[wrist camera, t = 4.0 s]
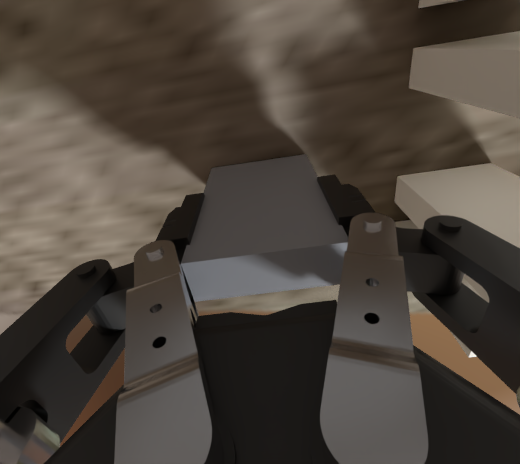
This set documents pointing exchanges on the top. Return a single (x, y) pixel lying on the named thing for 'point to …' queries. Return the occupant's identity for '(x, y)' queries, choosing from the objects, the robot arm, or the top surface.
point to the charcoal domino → (263, 232)
